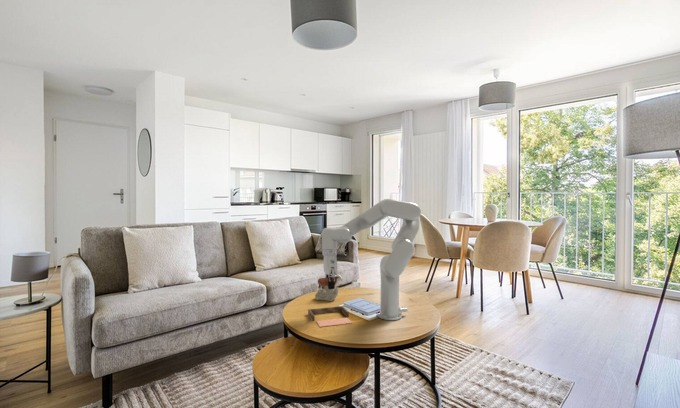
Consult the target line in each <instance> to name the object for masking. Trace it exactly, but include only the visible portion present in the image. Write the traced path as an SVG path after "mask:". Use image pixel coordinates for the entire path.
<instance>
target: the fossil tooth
mask: <svg viewBox="0 0 680 408" xmlns="http://www.w3.org/2000/svg"><path fill="white" fill-rule="evenodd" d="M324 288H325V290H326V291H327V292H326V293H325V292H324V290H323V289H322V290H321V289H320V290H321V292H320V291H319V290H318V291H317V292H316V294H315V295H314V296H315V300H316V301H319V300H321V301H328V302H333V301H334V300H335V299H337V297H338V294H339V290H340V287H338V286H337V285H335V288H334V289H335V290H334V291H332V289H328V287H326V286H325V287H324Z"/></svg>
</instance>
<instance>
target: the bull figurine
mask: <svg viewBox="0 0 680 408" xmlns="http://www.w3.org/2000/svg"><path fill="white" fill-rule="evenodd" d="M331 277H332V276H331ZM331 277H330V278H331ZM343 280H344V279H343V277H342V276H341V275H340V274H337V275H335V286H337V284H338V282H340V281H343ZM328 281H329V277H327V278H325V277H320V278H318V279H317V284H318V286H317V288H318V291H320V292H321V290H322V289H323V290H324V292H325V293H326V292H327V291H326V290H325V288H324V287H325V286H326V287H328ZM320 289H321V290H320ZM334 290H335V289H332V291H334Z"/></svg>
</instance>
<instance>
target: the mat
mask: <svg viewBox="0 0 680 408" xmlns="http://www.w3.org/2000/svg"><path fill="white" fill-rule="evenodd" d="M352 323H353V322H352V321H351V320H350V319H349V317H341V318H340V317H339V318H331V319H330V318H329V319H324V320H316V324H317V325H318V326H319V328H324V327H332V326H344V325H350V324H351V325H352Z"/></svg>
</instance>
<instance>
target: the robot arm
mask: <svg viewBox="0 0 680 408" xmlns="http://www.w3.org/2000/svg"><path fill="white" fill-rule="evenodd" d="M421 214H422V211H421V207H420V206H419V205H418V204H417V203H414V202H409V201H408V202H407V201H402V200H397V199H391V198H385V199H382V200H380V201H378V202H377V203H376V204H375V205H373V206H371V207H370V208H368V209H367V210H365V211H364V212H362V213H360V214H359V215H358V216H356V217H355V218H353V219H351V220H350V221H348V222H346V223H345V224H343V225H342V226H340V227H339V228H334V227H324V228H323V229H322V231H321V233H322V234H321V235H322V236H321V238H322V241H321V244H322V245H321V246H322V247H321V248H322V256H323V272H324V273H325V276H324V278H327V277H329V281H328V289H334V288H335V286H336V285H335V275H338V260H337V259H338V258H337V255H338V243H342V244H345V243H346V244H347V243H348V242H351V240H352V238H353V236H354V235H356V234H357V233H359V232H361V231H363V230H366V229H370V228H372V227H373V226H375V225H377V224H378V223H380V222H382V221H383V220H385V219H386V218H388V217H391V218H396V219H401V220H402V224H401V227H400V229H399V230H398V232H397V235H396V236H395V238H394V239H393V241H392V243H391V250H392V251H391V252H390V254H386V255H384V256H382V258H381V259H380V263H379V264H380V265H379V269H380V293H379V294H380V298H379V299H380V302H379V303H380V304H379V305H380V307H379V308H380V310H379V311H380V314H378V316H377V317H378V318H379V319H382V320H384V321H385V320H386V321H398V320H401V319H402V318H403V314H402V313H407V312H408V308H407V307H403V306H400V276H401V275H402V274H403V272H404V271H405V269H406V267H407V266H408V264H409V262H410V261H411V259H412V257H413V255H414V252H415V246H414V244H413V242H414V240H415V238H416V236H417V234H418V232H419V229H420V217H421ZM331 276H332V277H331ZM330 277H331V278H330Z"/></svg>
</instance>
